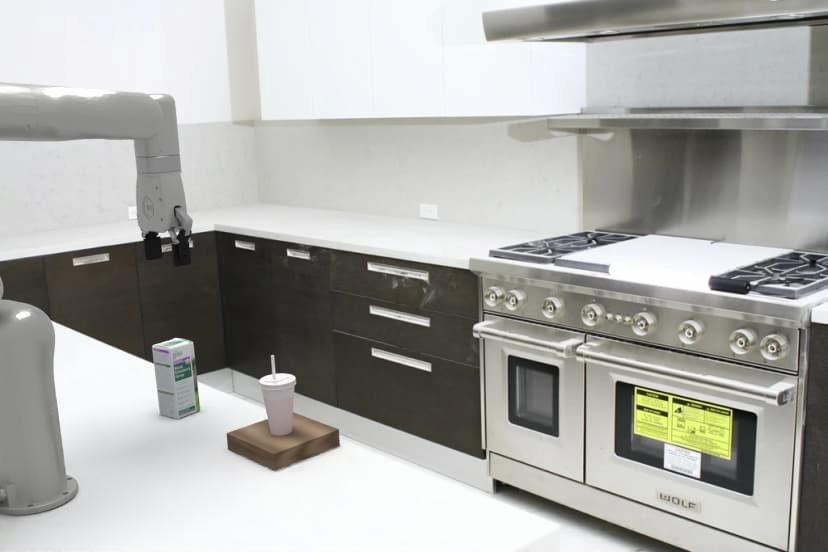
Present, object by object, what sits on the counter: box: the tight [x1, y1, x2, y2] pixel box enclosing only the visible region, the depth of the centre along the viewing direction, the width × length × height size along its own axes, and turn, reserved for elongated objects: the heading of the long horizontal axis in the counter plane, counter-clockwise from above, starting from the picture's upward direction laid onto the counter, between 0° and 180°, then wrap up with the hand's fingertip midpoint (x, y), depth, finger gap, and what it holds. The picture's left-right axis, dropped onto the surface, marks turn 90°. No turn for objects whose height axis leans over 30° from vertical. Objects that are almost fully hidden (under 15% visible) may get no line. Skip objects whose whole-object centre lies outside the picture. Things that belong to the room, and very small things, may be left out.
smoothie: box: [258, 354, 297, 436], centre depth 155 cm, size 6×6×14 cm
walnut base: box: [226, 411, 341, 472], centre depth 157 cm, size 14×14×3 cm
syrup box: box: [151, 337, 201, 420], centre depth 175 cm, size 6×6×14 cm
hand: (167, 262), depth 159 cm, fingers open, 9 cm apart
